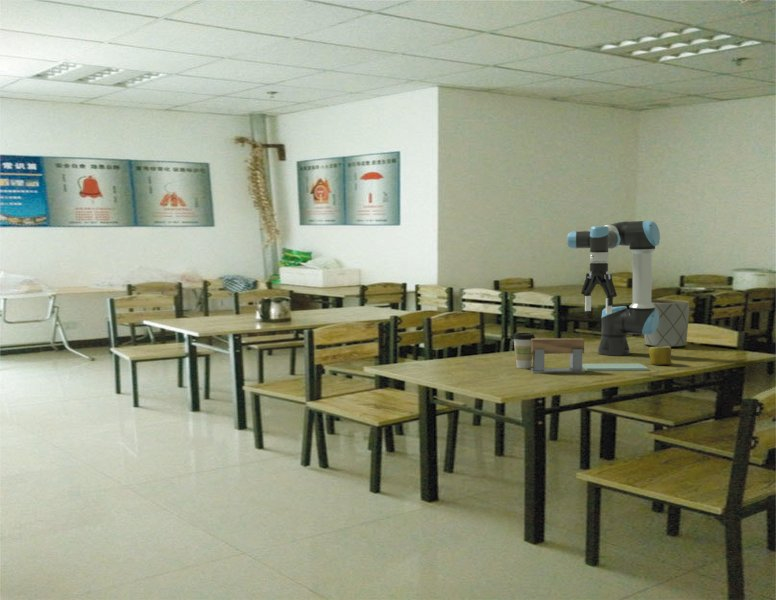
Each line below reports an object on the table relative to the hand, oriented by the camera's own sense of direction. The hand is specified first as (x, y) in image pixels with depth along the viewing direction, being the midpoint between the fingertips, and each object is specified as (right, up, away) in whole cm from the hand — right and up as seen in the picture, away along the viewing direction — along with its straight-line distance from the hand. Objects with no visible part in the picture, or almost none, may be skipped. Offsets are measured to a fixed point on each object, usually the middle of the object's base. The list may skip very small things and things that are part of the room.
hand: (598, 312), depth 322 cm
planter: (+56, -19, +73) cm, 94 cm away
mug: (+33, -24, +19) cm, 45 cm away
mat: (+10, -25, +9) cm, 28 cm away
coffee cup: (-29, -25, +14) cm, 41 cm away
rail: (-17, -18, +3) cm, 24 cm away
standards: (-17, -26, +4) cm, 31 cm away
